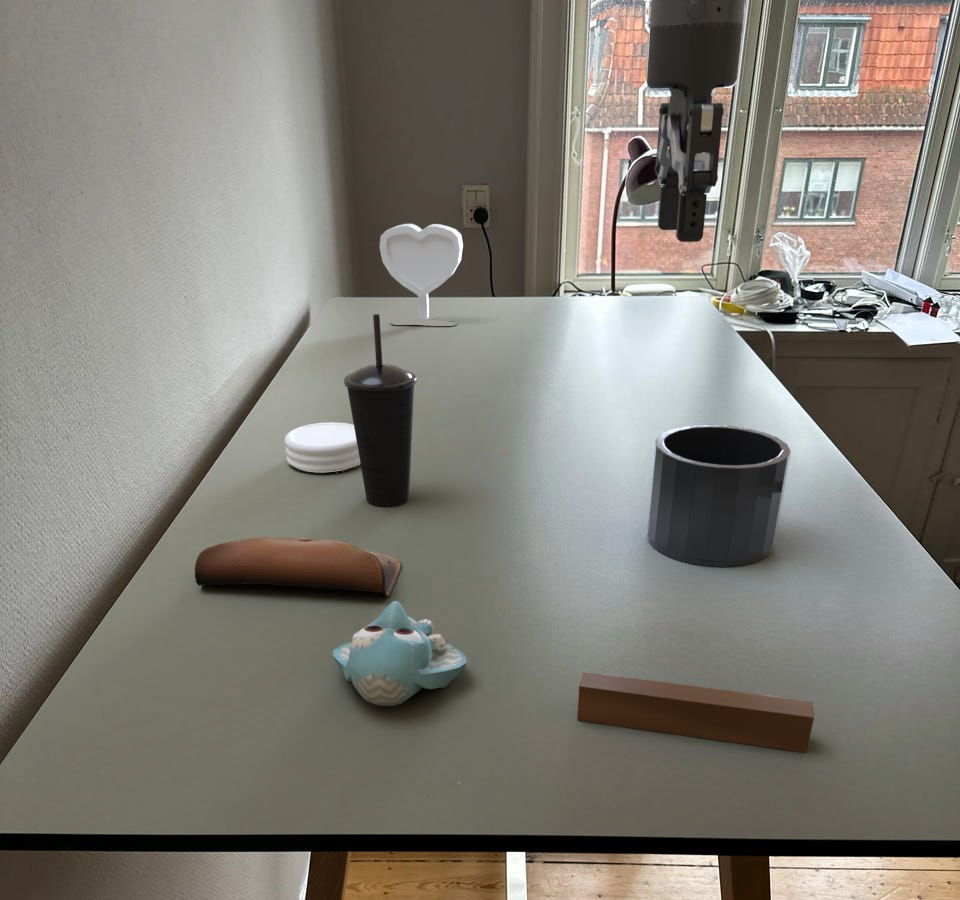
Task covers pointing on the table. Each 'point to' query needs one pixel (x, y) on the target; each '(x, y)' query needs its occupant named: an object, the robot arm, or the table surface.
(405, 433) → the drinking cup
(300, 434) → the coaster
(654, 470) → the pot
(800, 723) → the block
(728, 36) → the robot arm
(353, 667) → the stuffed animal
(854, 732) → the table surface
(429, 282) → the heart sculpture
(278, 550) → the sunglasses case
